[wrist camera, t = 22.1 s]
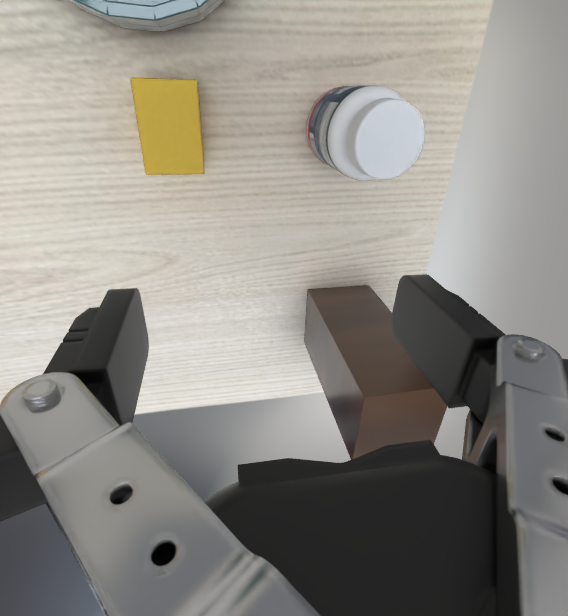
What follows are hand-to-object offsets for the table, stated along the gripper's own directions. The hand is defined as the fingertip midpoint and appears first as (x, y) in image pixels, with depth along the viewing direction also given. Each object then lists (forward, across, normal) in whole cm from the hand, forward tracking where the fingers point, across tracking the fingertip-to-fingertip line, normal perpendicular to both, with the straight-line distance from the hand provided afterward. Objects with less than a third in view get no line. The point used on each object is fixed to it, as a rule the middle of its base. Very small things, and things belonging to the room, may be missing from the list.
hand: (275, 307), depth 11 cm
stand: (+19, -9, +13) cm, 25 cm away
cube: (+19, +4, -4) cm, 20 cm away
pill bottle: (+20, -8, -4) cm, 21 cm away
